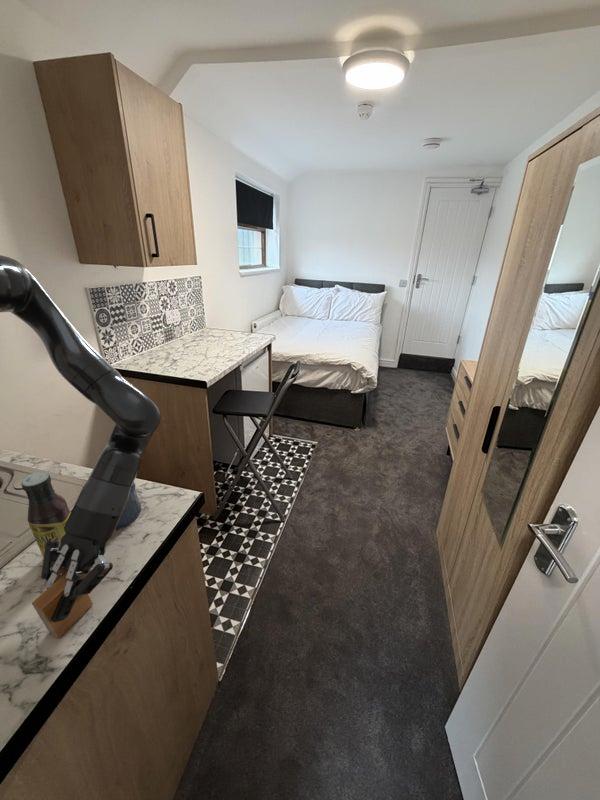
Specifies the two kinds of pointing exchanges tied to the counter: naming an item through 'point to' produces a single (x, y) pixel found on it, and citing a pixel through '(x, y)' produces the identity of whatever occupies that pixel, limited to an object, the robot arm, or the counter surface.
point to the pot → (130, 509)
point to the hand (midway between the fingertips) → (51, 616)
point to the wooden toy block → (49, 602)
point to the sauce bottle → (45, 509)
